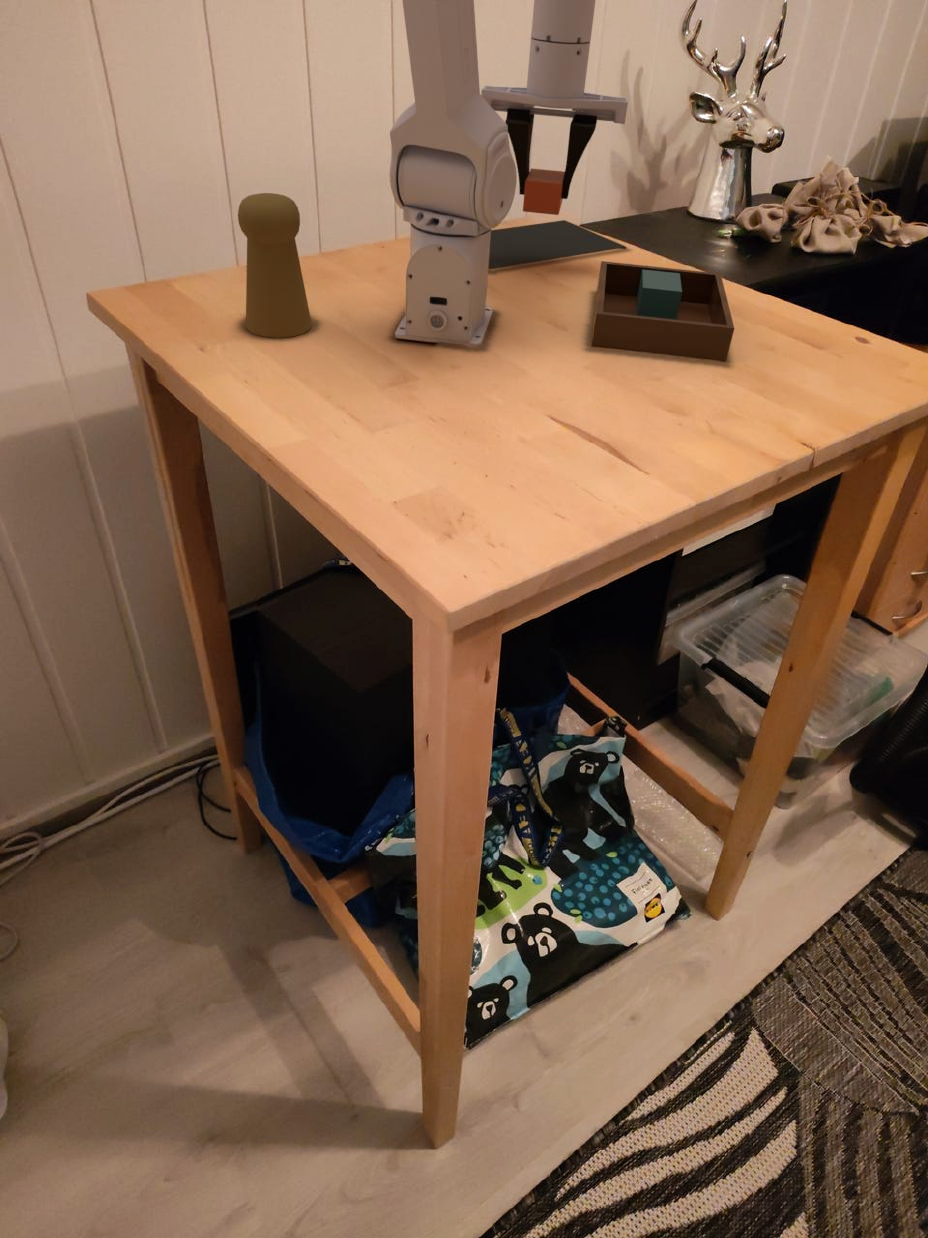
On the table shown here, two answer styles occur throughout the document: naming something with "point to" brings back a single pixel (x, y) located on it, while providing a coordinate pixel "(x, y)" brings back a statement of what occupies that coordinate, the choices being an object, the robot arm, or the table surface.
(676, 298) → the block
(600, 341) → the brown open tray
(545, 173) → the block
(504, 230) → the mat
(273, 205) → the cork
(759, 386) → the table surface
